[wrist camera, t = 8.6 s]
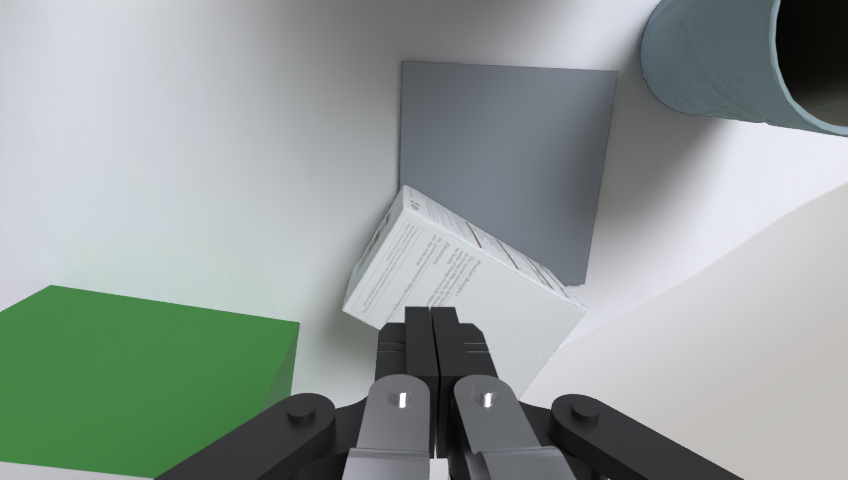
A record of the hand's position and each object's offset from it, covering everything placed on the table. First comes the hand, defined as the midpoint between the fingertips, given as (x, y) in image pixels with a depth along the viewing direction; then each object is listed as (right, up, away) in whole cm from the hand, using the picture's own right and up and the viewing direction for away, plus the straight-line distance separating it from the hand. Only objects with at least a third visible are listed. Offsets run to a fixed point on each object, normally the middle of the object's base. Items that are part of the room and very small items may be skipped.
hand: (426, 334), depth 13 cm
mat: (+5, +7, +18) cm, 20 cm away
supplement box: (-3, +3, +14) cm, 15 cm away
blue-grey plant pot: (+18, +16, +16) cm, 29 cm away
